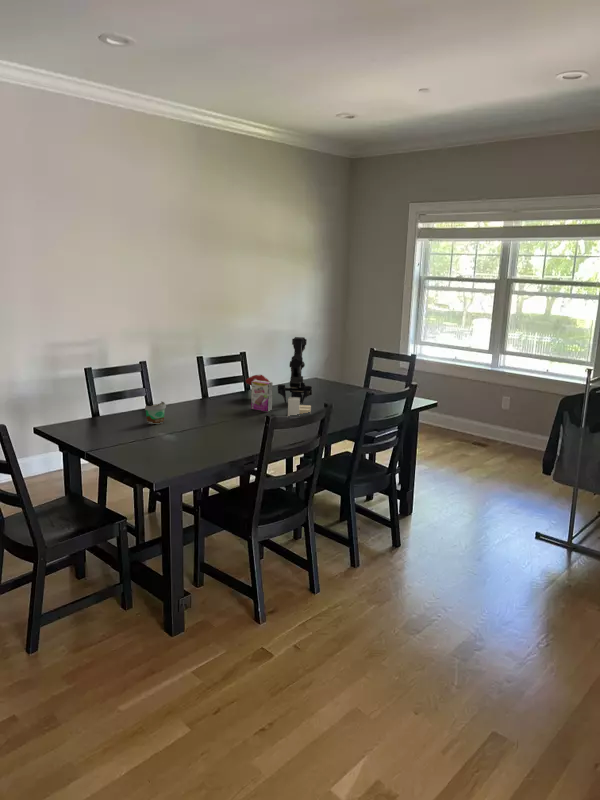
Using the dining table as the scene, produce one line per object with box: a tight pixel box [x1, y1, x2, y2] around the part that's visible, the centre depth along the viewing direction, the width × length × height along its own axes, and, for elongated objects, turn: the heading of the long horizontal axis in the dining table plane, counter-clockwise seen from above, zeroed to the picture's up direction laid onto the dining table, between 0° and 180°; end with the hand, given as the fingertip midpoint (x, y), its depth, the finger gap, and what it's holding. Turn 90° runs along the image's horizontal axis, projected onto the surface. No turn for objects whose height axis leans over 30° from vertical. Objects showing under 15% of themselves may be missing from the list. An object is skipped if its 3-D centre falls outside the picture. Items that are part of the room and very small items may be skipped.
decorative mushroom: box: [245, 374, 271, 386], centre depth 370 cm, size 16×16×15 cm
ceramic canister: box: [287, 396, 301, 417], centre depth 336 cm, size 6×6×10 cm
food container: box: [144, 401, 167, 423], centre depth 315 cm, size 12×6×10 cm, turn 148°
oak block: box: [300, 404, 312, 414], centre depth 346 cm, size 11×11×3 cm
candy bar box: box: [250, 380, 274, 413], centre depth 346 cm, size 11×5×16 cm, turn 65°
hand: (293, 402), depth 335 cm, fingers open, 9 cm apart
